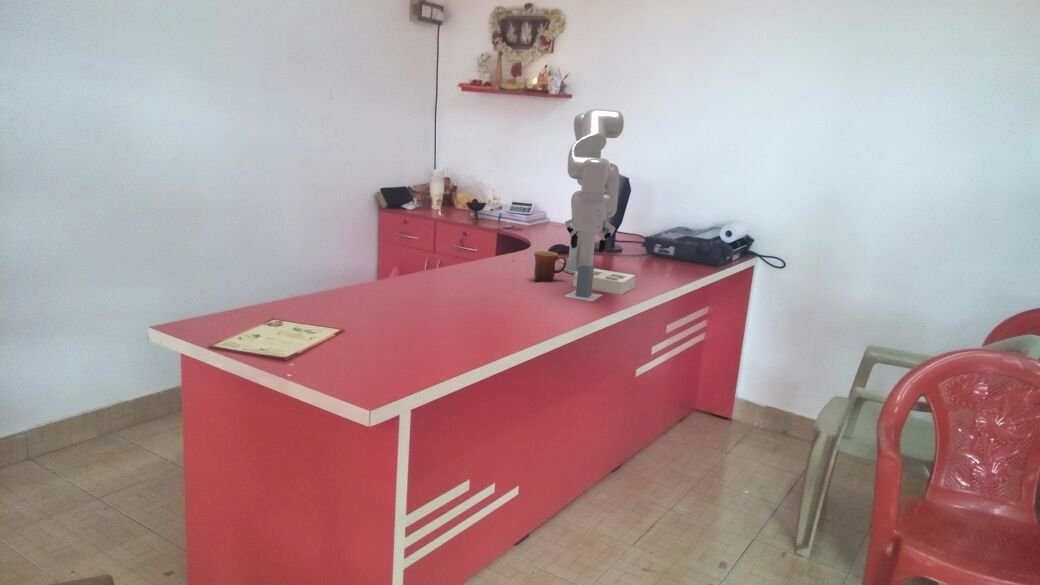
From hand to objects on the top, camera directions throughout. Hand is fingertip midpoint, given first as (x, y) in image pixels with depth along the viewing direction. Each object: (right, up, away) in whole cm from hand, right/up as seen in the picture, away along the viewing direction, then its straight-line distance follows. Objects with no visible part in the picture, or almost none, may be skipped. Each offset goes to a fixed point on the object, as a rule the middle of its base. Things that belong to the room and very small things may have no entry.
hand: (587, 249), depth 235 cm
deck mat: (-1, -16, +5) cm, 17 cm away
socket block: (+8, -13, +19) cm, 24 cm away
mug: (-12, -10, +24) cm, 29 cm away
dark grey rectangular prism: (-1, -15, +4) cm, 16 cm away
